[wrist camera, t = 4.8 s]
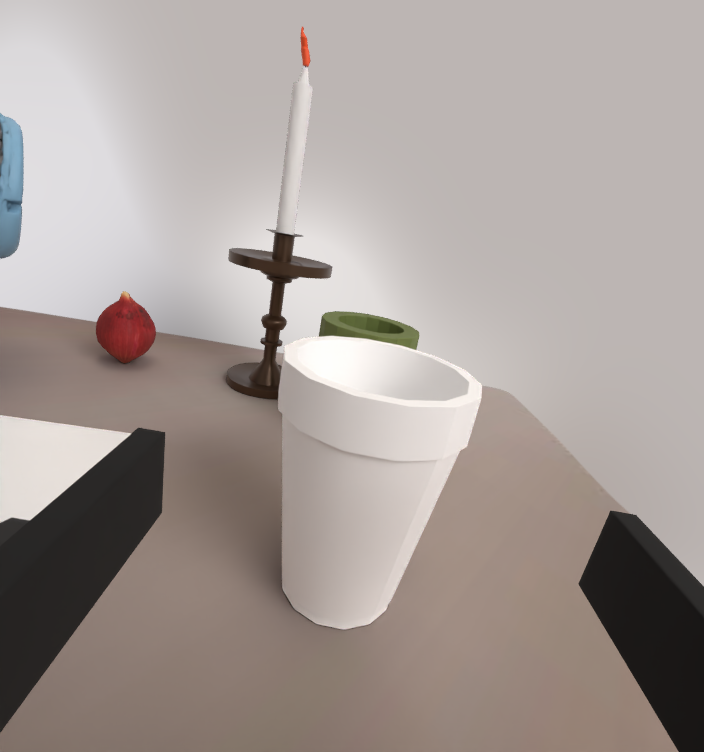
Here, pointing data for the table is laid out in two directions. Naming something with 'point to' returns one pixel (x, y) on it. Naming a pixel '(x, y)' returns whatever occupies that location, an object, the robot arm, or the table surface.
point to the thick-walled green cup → (368, 328)
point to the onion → (125, 329)
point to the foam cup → (362, 467)
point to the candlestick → (280, 249)
